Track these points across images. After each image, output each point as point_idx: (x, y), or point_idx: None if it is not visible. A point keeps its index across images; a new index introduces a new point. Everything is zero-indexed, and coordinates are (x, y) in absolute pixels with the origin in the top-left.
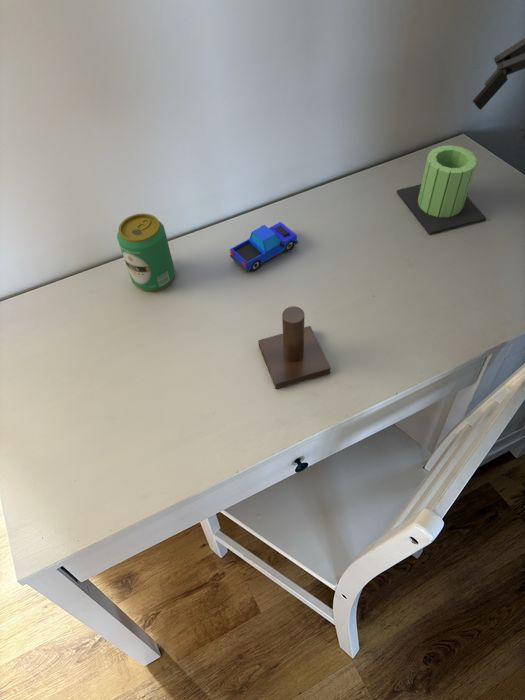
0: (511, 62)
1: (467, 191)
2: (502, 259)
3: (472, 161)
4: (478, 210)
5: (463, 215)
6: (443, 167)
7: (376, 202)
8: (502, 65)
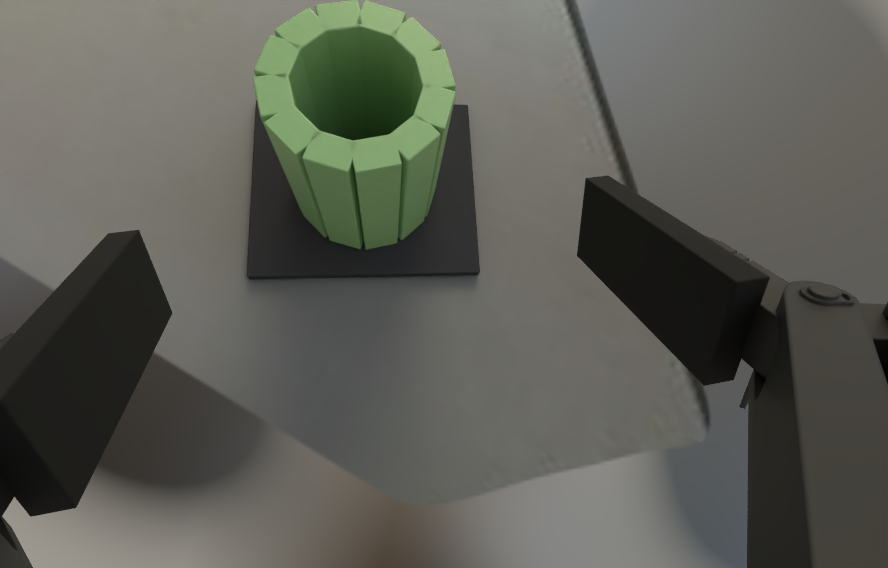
0: (818, 348)
1: (307, 203)
2: (67, 235)
3: (305, 139)
4: (290, 272)
5: (286, 218)
6: (315, 27)
7: (441, 47)
8: (815, 299)
